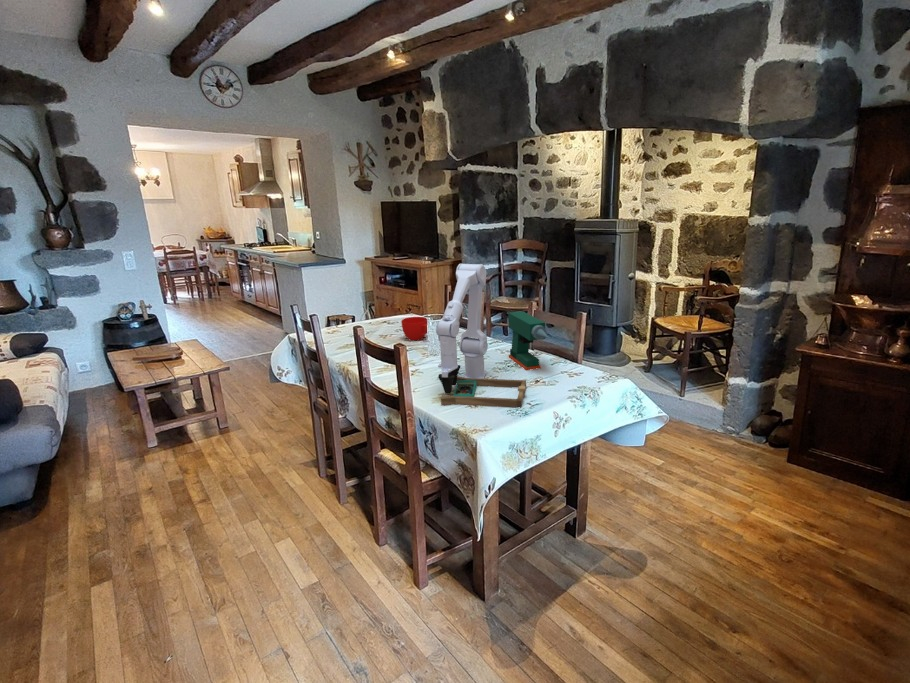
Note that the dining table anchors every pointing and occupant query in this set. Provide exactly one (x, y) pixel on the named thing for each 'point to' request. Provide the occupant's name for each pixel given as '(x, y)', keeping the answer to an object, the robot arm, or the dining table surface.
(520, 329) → the power tool
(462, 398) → the pocket
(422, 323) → the ceramic cup
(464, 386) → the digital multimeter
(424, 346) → the dining table surface
